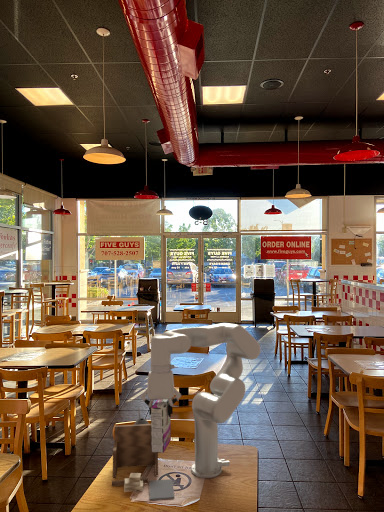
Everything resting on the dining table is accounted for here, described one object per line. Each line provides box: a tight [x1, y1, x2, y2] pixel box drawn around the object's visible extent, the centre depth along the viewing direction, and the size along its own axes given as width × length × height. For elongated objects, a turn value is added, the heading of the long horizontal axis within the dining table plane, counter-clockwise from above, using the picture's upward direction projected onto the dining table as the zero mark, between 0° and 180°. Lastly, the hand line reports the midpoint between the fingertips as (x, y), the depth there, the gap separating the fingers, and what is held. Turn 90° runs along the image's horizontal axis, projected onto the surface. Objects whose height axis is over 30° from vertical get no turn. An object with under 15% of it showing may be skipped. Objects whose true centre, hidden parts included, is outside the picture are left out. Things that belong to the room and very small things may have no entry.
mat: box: [148, 478, 175, 501], centre depth 148 cm, size 9×12×1 cm
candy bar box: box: [150, 399, 172, 454], centre depth 148 cm, size 11×5×16 cm, turn 169°
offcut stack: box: [123, 472, 144, 493], centre depth 149 cm, size 7×4×5 cm, turn 96°
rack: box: [111, 423, 159, 487], centre depth 160 cm, size 18×15×17 cm
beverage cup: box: [133, 408, 149, 425], centre depth 177 cm, size 7×7×20 cm
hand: (160, 415), depth 149 cm, fingers closed on candy bar box, 6 cm apart
